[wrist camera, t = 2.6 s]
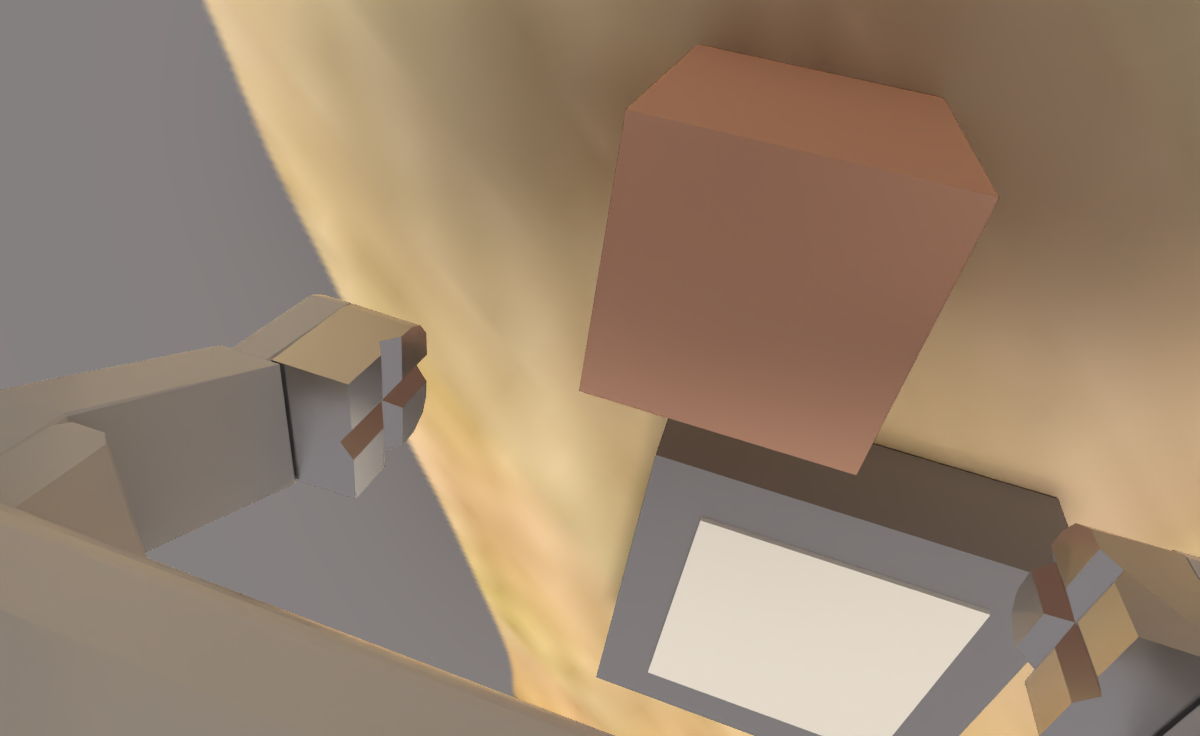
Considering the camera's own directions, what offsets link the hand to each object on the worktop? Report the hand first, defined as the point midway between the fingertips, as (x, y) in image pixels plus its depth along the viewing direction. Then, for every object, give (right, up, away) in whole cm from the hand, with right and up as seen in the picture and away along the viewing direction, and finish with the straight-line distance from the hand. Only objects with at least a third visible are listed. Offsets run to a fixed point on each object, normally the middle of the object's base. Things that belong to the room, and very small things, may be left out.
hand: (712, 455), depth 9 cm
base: (+5, -5, +12) cm, 14 cm away
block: (+3, +5, +7) cm, 9 cm away
